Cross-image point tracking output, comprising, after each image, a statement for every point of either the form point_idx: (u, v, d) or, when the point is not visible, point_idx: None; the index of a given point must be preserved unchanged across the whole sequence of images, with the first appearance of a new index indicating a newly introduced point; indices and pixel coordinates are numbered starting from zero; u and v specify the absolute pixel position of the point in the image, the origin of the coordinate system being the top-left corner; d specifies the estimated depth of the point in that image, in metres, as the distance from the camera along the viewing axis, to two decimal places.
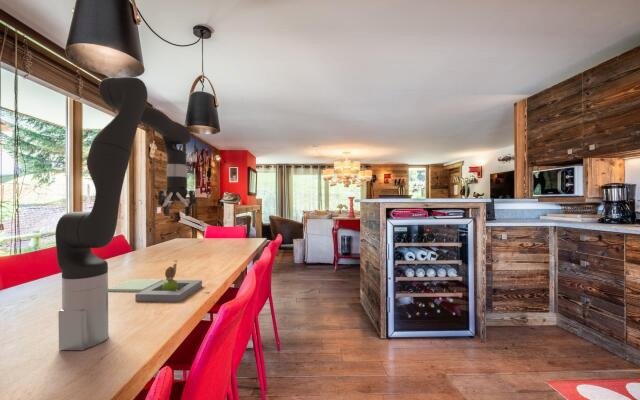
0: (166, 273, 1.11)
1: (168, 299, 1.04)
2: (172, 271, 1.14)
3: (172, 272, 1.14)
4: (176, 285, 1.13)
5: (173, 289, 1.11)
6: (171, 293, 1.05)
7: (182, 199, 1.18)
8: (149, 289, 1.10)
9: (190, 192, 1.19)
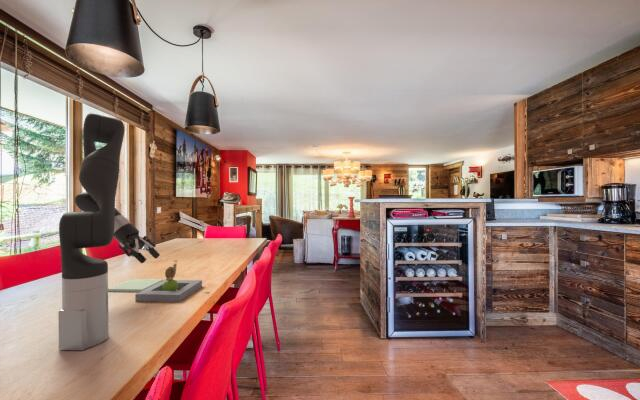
0: (166, 273, 1.11)
1: (168, 299, 1.04)
2: (172, 271, 1.14)
3: (172, 272, 1.14)
4: (176, 285, 1.13)
5: (173, 289, 1.11)
6: (171, 293, 1.05)
7: (147, 242, 1.17)
8: (149, 289, 1.10)
9: (146, 237, 1.20)
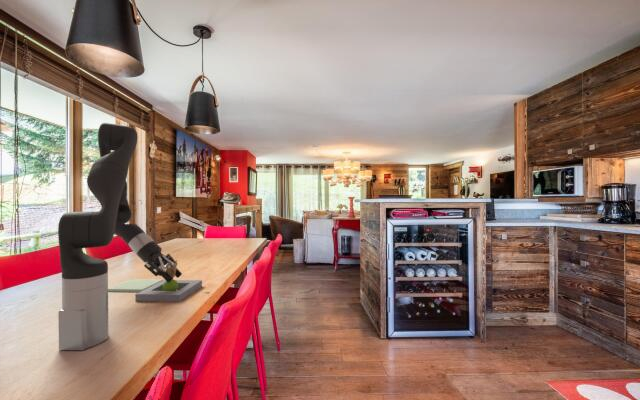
0: None
1: (168, 299, 1.04)
2: (172, 271, 1.14)
3: (172, 272, 1.14)
4: (176, 285, 1.13)
5: (173, 289, 1.11)
6: (171, 293, 1.05)
7: (169, 260, 1.16)
8: (149, 289, 1.10)
9: (169, 255, 1.20)
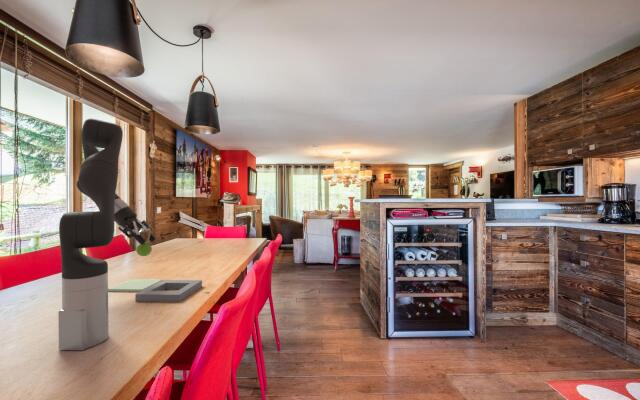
0: None
1: (168, 299, 1.04)
2: (146, 235, 1.21)
3: (146, 236, 1.21)
4: (149, 248, 1.20)
5: (146, 251, 1.18)
6: (171, 293, 1.05)
7: (144, 226, 1.23)
8: (149, 289, 1.10)
9: (144, 221, 1.27)
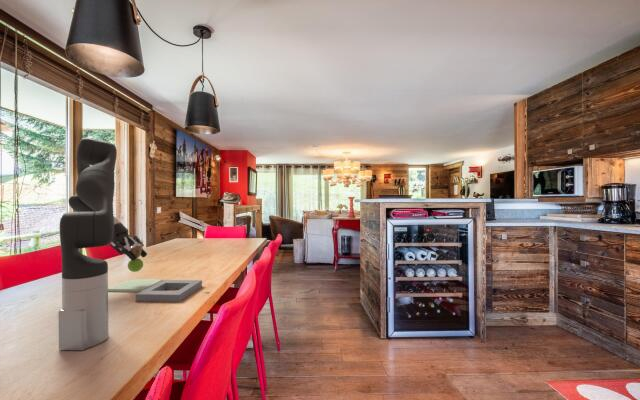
0: None
1: (168, 299, 1.04)
2: (137, 251, 1.22)
3: (137, 252, 1.22)
4: (141, 264, 1.21)
5: (137, 267, 1.20)
6: (171, 293, 1.05)
7: (135, 241, 1.25)
8: (149, 289, 1.10)
9: (136, 237, 1.28)
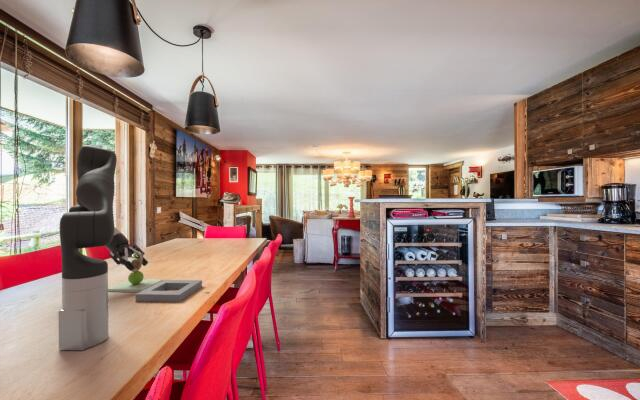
0: None
1: (168, 299, 1.04)
2: (138, 263, 1.23)
3: (138, 264, 1.23)
4: (141, 276, 1.21)
5: (138, 280, 1.20)
6: (171, 293, 1.05)
7: (136, 251, 1.25)
8: (149, 289, 1.10)
9: (135, 245, 1.28)
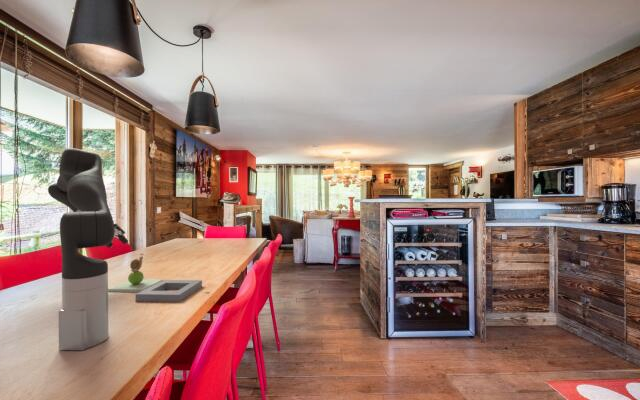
0: (131, 265, 1.20)
1: (168, 299, 1.04)
2: (138, 263, 1.23)
3: (138, 264, 1.23)
4: (141, 276, 1.21)
5: (138, 280, 1.20)
6: (171, 293, 1.05)
7: (116, 229, 1.26)
8: (149, 289, 1.10)
9: (116, 224, 1.29)
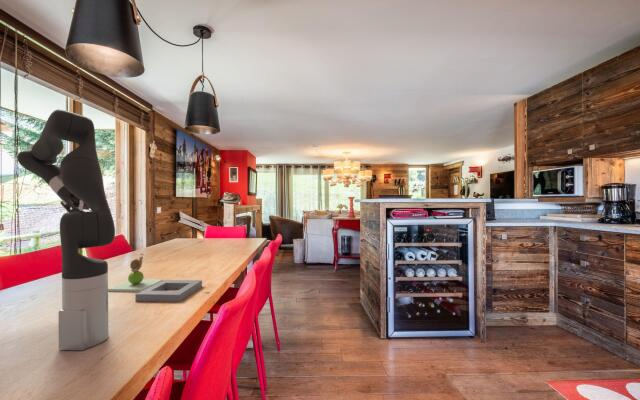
0: (131, 265, 1.20)
1: (168, 299, 1.04)
2: (138, 263, 1.23)
3: (138, 264, 1.23)
4: (141, 276, 1.21)
5: (138, 280, 1.20)
6: (171, 293, 1.05)
7: None
8: (149, 289, 1.10)
9: None
